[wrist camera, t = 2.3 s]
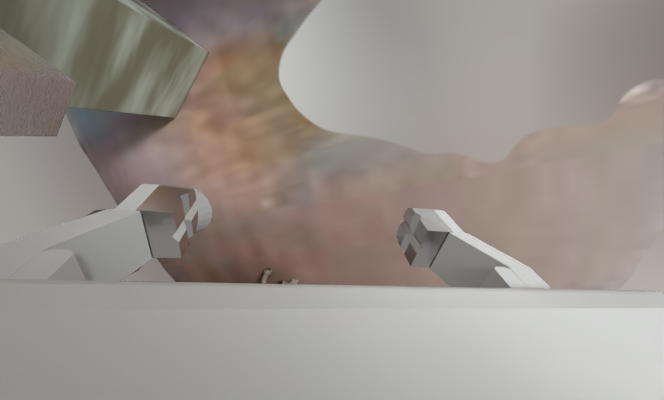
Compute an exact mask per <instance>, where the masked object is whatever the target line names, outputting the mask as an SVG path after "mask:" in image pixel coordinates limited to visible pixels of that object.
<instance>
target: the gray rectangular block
mask: <svg viewBox="0 0 664 400" xmlns="http://www.w3.org/2000/svg"><path fill="white" fill-rule="evenodd" d="M75 85H76V82H75V81H74V80H72V79H71V78H69V77H68V76H67V75H65V74H64V73H63V72H61V71H60V70H58V69H57V68H56V67H54V66H53V65H52V64H50V63H49V62H47V61H46V60H45V59H43V58H42V57H40V56H39V55H38V54H36V53H35V52H34V51H32V50H31V49H29V48H28V47H27V46H25V45H24V44H22V43H21V42H20V41H18V40H17V39H16V38H14V37H13V36H11V35H10V34H9V33H7V32H6V31H5V30H3V29H2V28H0V136H57V134H58V131H59V128H60V125H61V123H62V120H63V118H64V115H65V112H66V109H67V107H68V104H69V101H70V99H71V96H72V93H73V91H74V88H75Z"/></svg>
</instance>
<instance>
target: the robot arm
mask: <svg viewBox="0 0 664 400" xmlns="http://www.w3.org/2000/svg"><path fill="white" fill-rule="evenodd" d="M195 201H196V193H195V190H194V189H193V188H184V187H175V186H166V185H157V184H141V185H140V186H139V187H138V188H137V189H136V190H135V191H133V192H132V193H131V194H130V195H129V196H128V197H127V198H126V199H125V200H124V201H122V202H121V203H120V204H119V205H118V206H117V207H116V208H115V209H106V210H103V211H100V212H97V213H94V214H91V215H88V216H85V217H82V218H79V219H76V220H73V221H70V222H67V223H64V224H61V225H58V226H55V227H52V228H49V229H46V230H43V231H40V232H37V233H34V234H32V235H28V236H25V237H22V238H19V239H16V240H14V241H11V242H7V243H4V244H1V245H0V400H664V293H660V292H656V291H645V290H589V289H552V288H550V287H549V286H548V285H547V284H546V283H545V282H544V281H543V280H542V279H541V278H540V277H539V276H538V275H537V274H536V273H535V272H534V271H533V270H532V269H531V268H530V267H528V266H526V265H524V264H522V263H521V262H519V261H517V260H515V259H513V258H512V257H510V256H508V255H506V254H504V253H502V252H501V251H499V250H497V249H495V248H493V247H491V246H490V245H488V244H486V243H484V242H482V241H480V240H479V239H477V238H475V237H473V236H471V235H469V234H466V233H464V232H463V231H462V230H461V229H460V228H459V227H458V226H457V224H456V223H455V222H454V221H453V220H452V219H451V218H450V217H449V216H448V215H447V213H446V212H445V211H443V210H434V209H417V208H408V209H407V210H406V211H405V213H404V216H403V217H404V219H405V221H404V222H403V223H401V224H400V226H399V229H398V233H397V239H398V243H399V245H400V247H402V248H403V249H405V250H406V251H405V256H406V258H407V260H408V262H409V264H410V266H414V267H430V269H431V270H432V271H433V272H435V273H436V274H437V275H438V276H439V277H440V278H441V279H442V280H444V281H445V282H446V283H447V284H448V285H449V286H450V287H423V286H369V285H311V284H257V283H203V282H149V281H121V280H122V279H124V278H125V277H127V276H128V275H129V274H131V273H132V272H134V271H135V270H137V269H138V268H140V267H141V266H143V265H144V264H145V263H147V262H148V261H150V260H151V259H152V258H182V256H183V254H184V252H185V250H186V248H187V246H188V245H189V242H188V238H190V237H191V236H193V235H194V233H195V231H196V228H197V224H198V210H197V209H196V208H195V207H194V206H193V204H194V203H195Z"/></svg>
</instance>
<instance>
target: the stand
mask: <svg viewBox="0 0 664 400" xmlns="http://www.w3.org/2000/svg"><path fill="white" fill-rule="evenodd" d="M0 28H2V29H3V30H5V31H6V32H7V33H9V34H10V35H11V36H13V37H14V38H16V39H17V40H18V41H20V42H21V43H22V44H24V45H25V46H27V47H28V48H29V49H31V50H32V51H34V52H35V53H36V54H38V55H39V56H40V57H42V58H43V59H45V60H46V61H47V62H49V63H50V64H52V65H53V66H54V67H56V68H57V69H58V70H60V71H61V72H63V73H64V74H65V75H67V76H68V77H69V78H71V79H72V80H74V81H75V82H76V85H75V88H74V91H73V93H72V96H71V99H70V101H69V104H68V107H76V108H86V109H95V110H105V111H115V112H124V113H134V114H144V115H153V116H163V117H173V118H176V116H177V114H178V112H179V110H180V108H181V106H182V104H183V102H184V100H185V98H186V96H187V94H188V92H189V90H190V88H191V87H192V85H193V83H194V81H195V79H196V77H197V75H198V73H199V71H200V69H201V67H202V65H203V63H204V61H205V59H206V57H207V55H208V53H209V52H208V51H206V50H205V49H204V48H202V47H201V46H200V45H198V44H197V43H196V42H194V41H193V40H192V39H191V38H189V37H188V36H187V35H185V34H184V33H183V32H181V31H180V30H179V29H177V28H176V27H175V26H174V25H172V24H171V23H170V22H168V21H167V20H166V19H164V18H163V17H162V16H161V15H159V14H158V13H157V12H155V11H154V10H153V9H151V8H150V7H149V6H147V5H146V4H145V3H144V2H142V1H140V0H0Z"/></svg>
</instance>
